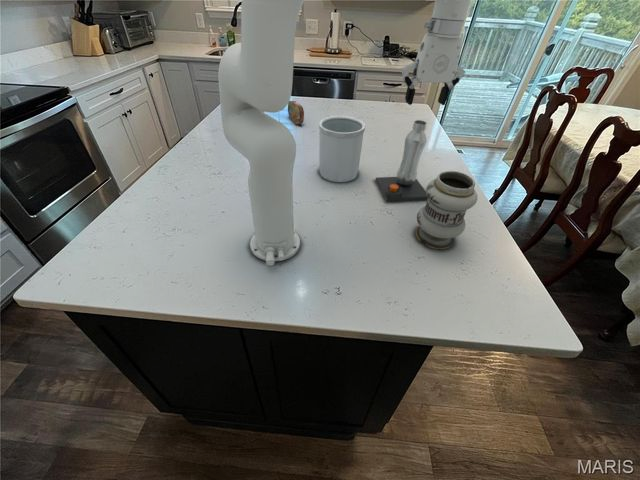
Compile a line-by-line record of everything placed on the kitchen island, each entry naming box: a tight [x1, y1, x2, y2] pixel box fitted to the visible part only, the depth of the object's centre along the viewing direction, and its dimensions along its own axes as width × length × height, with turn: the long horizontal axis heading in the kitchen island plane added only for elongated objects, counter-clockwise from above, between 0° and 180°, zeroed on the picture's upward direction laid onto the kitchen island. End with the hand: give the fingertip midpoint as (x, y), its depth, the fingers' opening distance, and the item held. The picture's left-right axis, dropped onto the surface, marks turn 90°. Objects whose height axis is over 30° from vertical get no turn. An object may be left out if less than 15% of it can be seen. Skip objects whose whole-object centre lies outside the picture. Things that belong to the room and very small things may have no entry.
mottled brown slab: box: [287, 100, 305, 126], centre depth 138 cm, size 15×3×8 cm, turn 25°
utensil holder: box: [318, 115, 366, 183], centre depth 99 cm, size 15×15×18 cm
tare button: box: [389, 184, 398, 192], centre depth 92 cm, size 3×3×2 cm
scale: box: [374, 176, 428, 203], centre depth 97 cm, size 13×14×3 cm
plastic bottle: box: [395, 119, 428, 185], centre depth 92 cm, size 6×7×20 cm
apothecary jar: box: [415, 170, 478, 250], centre depth 74 cm, size 12×12×18 cm
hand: (424, 103), depth 82 cm, fingers open, 9 cm apart
